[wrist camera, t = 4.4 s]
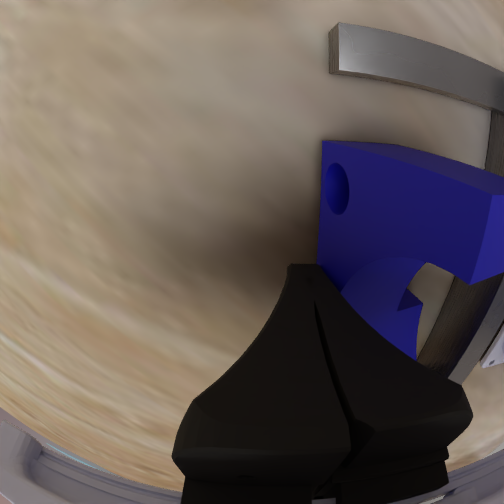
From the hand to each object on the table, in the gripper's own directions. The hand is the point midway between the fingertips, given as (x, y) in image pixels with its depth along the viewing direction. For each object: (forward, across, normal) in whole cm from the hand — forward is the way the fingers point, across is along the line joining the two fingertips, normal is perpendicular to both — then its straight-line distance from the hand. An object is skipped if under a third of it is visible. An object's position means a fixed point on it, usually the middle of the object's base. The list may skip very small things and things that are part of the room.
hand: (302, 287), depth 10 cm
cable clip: (+1, -3, +1) cm, 3 cm away
